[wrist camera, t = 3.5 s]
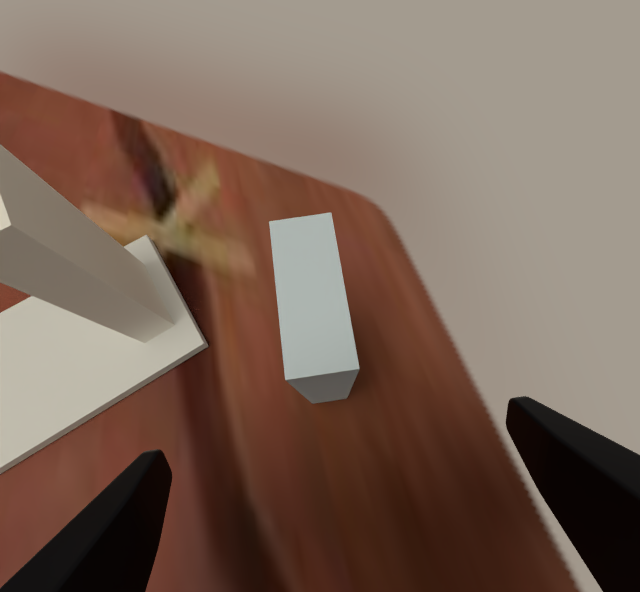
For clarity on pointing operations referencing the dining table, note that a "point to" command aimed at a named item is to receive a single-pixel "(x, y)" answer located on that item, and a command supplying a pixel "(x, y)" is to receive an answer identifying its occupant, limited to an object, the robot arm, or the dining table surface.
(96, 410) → the row mat
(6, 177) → the domino
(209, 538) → the dining table surface
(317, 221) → the domino
